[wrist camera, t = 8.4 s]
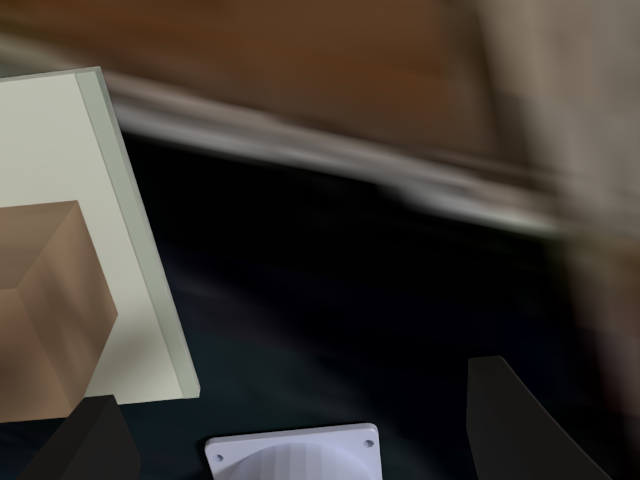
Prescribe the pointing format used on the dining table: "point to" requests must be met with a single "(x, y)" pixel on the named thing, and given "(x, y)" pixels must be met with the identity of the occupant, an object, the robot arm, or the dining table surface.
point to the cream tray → (97, 222)
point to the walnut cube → (49, 310)
